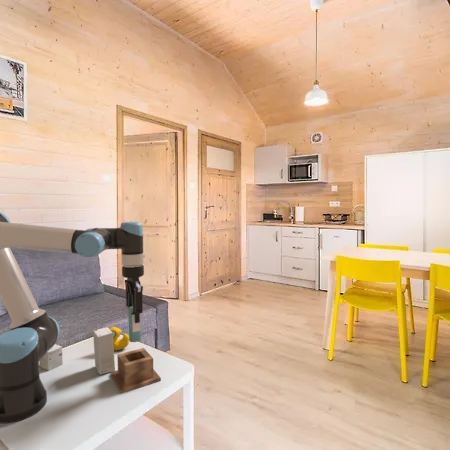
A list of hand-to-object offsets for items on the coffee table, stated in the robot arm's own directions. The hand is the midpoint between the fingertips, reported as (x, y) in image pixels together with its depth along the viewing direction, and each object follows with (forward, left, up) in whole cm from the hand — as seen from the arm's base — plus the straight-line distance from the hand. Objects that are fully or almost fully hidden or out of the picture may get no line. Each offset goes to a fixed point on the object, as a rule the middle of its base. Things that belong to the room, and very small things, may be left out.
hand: (134, 328), depth 118 cm
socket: (0, 0, -18) cm, 18 cm away
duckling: (0, +27, -19) cm, 33 cm away
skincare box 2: (-8, +13, -19) cm, 24 cm away
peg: (0, 0, -4) cm, 4 cm away
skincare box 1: (-25, +27, -19) cm, 41 cm away
